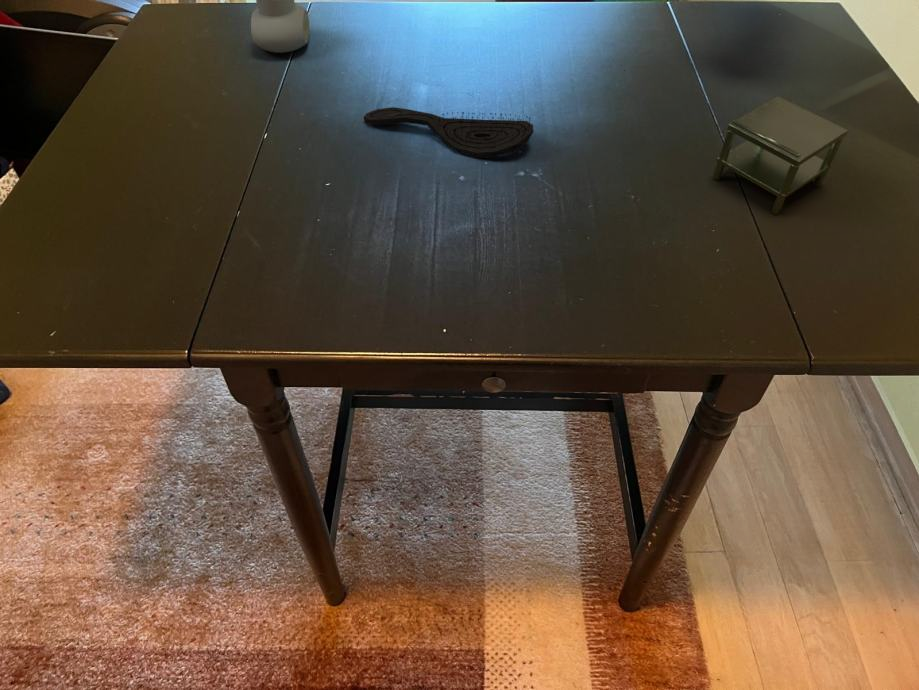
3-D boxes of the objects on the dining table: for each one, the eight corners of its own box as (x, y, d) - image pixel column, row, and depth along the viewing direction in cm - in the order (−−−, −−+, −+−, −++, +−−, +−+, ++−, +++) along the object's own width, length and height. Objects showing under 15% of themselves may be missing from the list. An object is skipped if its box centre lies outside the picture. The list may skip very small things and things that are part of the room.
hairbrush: (373, 87, 100) (540, 107, 94) (377, 110, 103) (539, 131, 97) (350, 118, 95) (524, 141, 89) (355, 141, 98) (524, 165, 92)
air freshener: (264, 30, 118) (250, -32, 110) (312, 28, 118) (301, -33, 111) (255, 62, 111) (238, -2, 104) (306, 60, 111) (293, -3, 104)
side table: (758, 149, 94) (779, 91, 87) (822, 184, 89) (851, 125, 82) (711, 177, 90) (730, 119, 83) (775, 216, 85) (801, 156, 78)
